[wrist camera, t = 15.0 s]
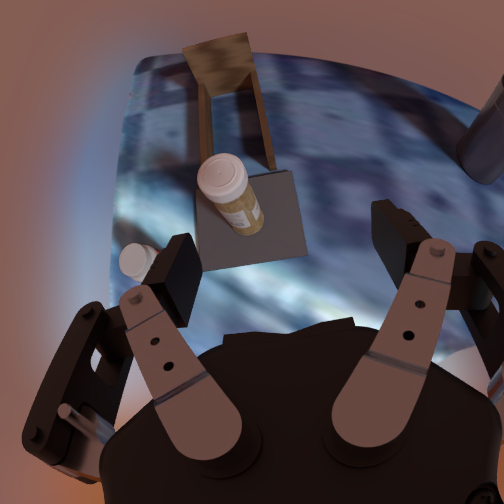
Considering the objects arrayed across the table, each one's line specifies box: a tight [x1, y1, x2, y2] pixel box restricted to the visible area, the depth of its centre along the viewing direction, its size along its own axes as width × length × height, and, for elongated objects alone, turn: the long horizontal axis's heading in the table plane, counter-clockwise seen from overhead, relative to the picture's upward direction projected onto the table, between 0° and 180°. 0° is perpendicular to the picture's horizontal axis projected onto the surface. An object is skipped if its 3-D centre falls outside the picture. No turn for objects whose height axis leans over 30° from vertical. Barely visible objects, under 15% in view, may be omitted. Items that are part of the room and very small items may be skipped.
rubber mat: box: [196, 171, 308, 272], centre depth 38 cm, size 14×12×1 cm
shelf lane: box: [182, 32, 277, 171], centre depth 37 cm, size 10×19×12 cm, turn 8°
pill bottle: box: [119, 243, 161, 283], centre depth 35 cm, size 5×5×8 cm
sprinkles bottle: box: [197, 153, 264, 236], centre depth 31 cm, size 5×5×13 cm
